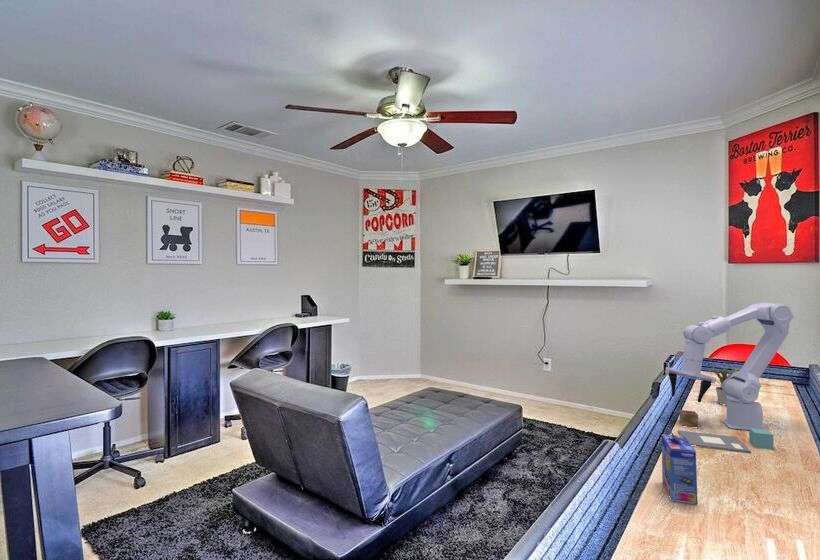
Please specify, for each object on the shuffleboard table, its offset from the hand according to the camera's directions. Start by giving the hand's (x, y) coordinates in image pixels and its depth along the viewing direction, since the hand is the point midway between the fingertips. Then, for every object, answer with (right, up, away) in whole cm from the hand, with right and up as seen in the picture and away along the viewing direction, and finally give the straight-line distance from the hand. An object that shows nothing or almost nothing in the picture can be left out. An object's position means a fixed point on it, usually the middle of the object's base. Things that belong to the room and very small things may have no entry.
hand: (685, 398), depth 149 cm
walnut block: (+1, -9, 0) cm, 9 cm away
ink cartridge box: (-32, -10, -47) cm, 58 cm away
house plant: (+30, -9, +24) cm, 39 cm away
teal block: (+11, -9, -18) cm, 23 cm away
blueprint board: (-2, -9, -16) cm, 18 cm away
